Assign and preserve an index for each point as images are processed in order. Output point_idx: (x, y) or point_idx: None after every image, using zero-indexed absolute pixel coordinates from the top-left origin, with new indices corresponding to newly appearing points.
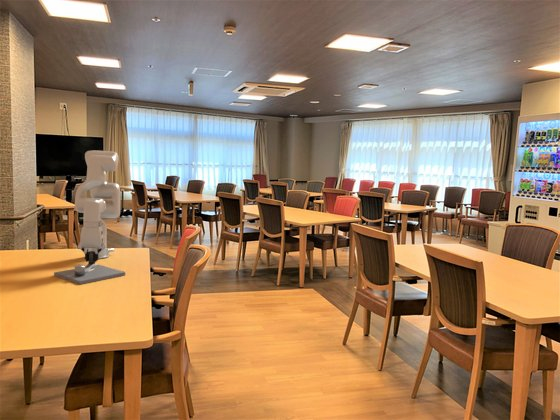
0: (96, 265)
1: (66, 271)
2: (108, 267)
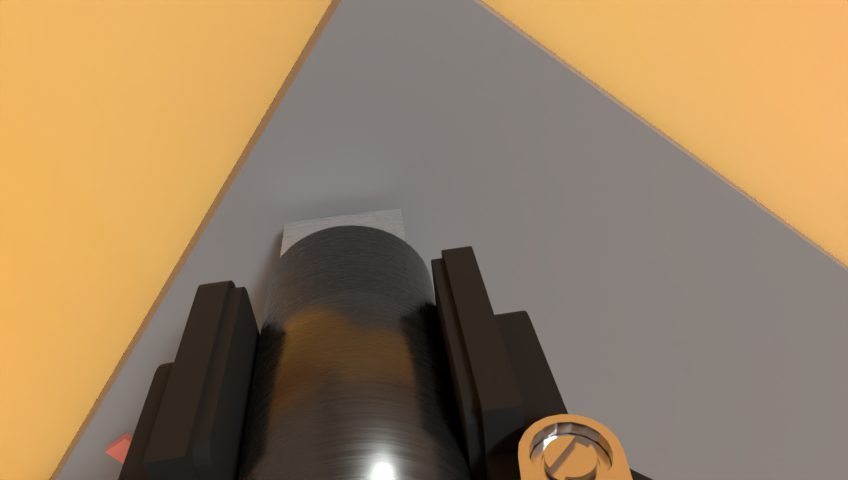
0: (371, 57)
1: None
2: (702, 175)
